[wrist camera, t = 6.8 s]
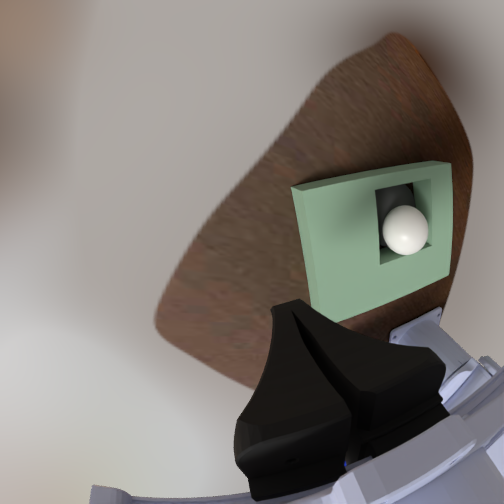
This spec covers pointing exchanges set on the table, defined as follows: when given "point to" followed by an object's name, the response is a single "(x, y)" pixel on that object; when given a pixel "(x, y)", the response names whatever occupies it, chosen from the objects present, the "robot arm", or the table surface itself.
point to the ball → (405, 230)
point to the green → (371, 236)
